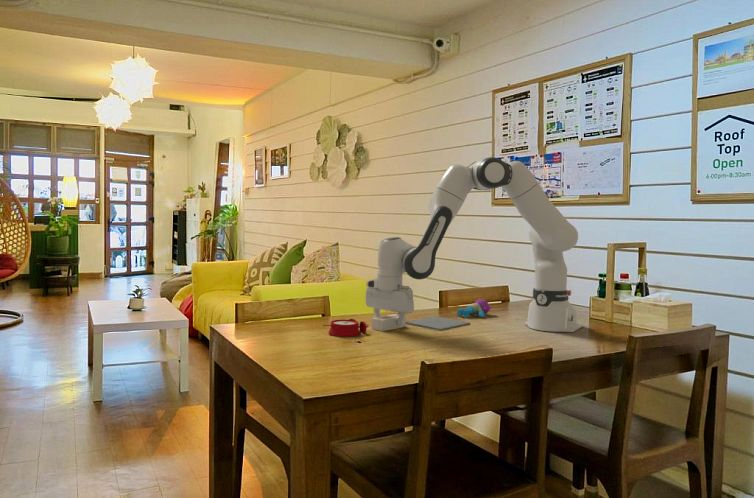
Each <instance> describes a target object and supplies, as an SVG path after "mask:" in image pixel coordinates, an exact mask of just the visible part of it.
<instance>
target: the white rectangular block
mask: <svg viewBox="0 0 754 498" xmlns="http://www.w3.org/2000/svg"><path fill="white" fill-rule="evenodd" d="M381 316H382V317H376V316H375V317H371V329H372V330H376V331H379V332H385V331H389V330H395V329H401V328H405V327H406V324H405V322H406V315H405V316H404V318H403V320H402V325H396V320H398V318H399V315H398V314H395V313H393V314H388V315H384V316H383V315H381Z"/></svg>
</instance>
